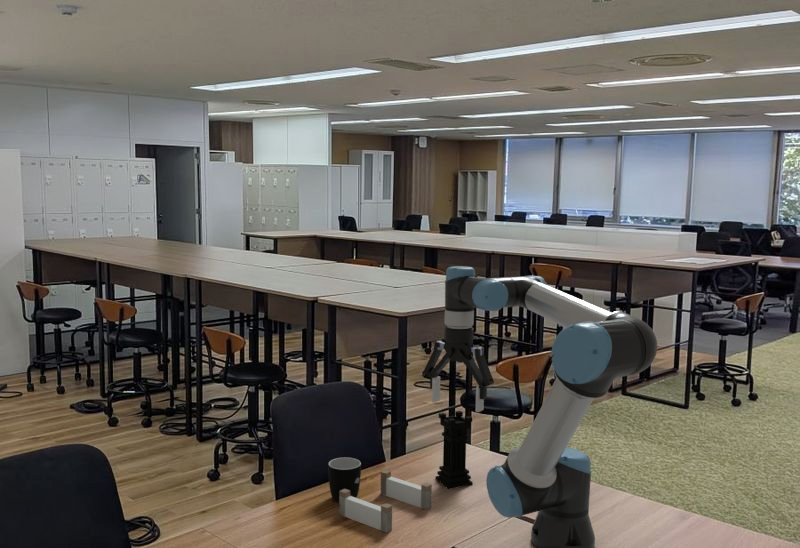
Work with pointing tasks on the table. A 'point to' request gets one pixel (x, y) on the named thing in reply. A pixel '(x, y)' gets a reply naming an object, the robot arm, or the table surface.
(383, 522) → the chute
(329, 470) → the mug
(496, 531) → the table surface
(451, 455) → the chess piece
